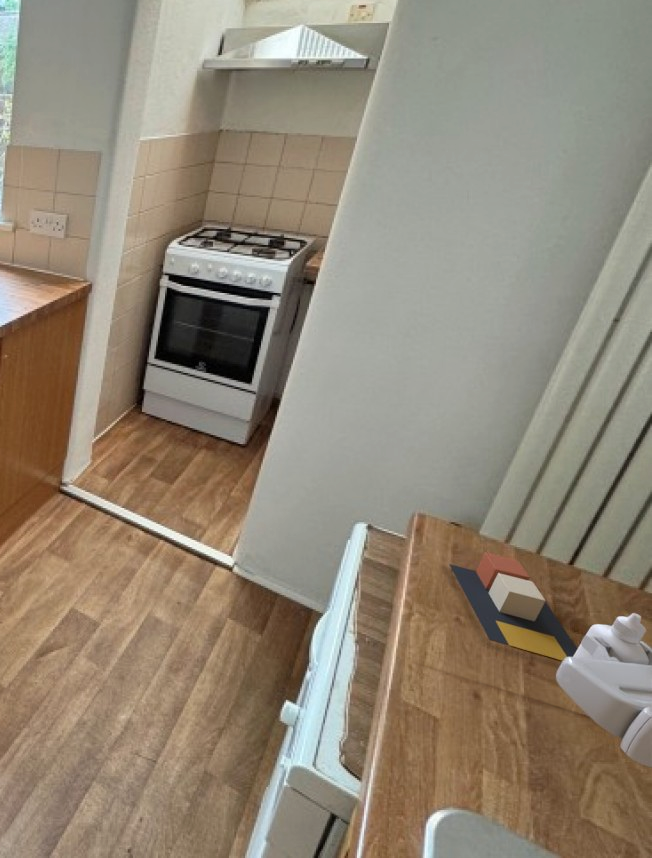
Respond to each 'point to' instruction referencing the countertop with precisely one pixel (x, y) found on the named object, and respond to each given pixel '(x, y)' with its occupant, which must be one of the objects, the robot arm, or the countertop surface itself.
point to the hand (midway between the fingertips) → (609, 641)
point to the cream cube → (516, 597)
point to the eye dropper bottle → (620, 640)
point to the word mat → (515, 622)
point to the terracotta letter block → (498, 569)
